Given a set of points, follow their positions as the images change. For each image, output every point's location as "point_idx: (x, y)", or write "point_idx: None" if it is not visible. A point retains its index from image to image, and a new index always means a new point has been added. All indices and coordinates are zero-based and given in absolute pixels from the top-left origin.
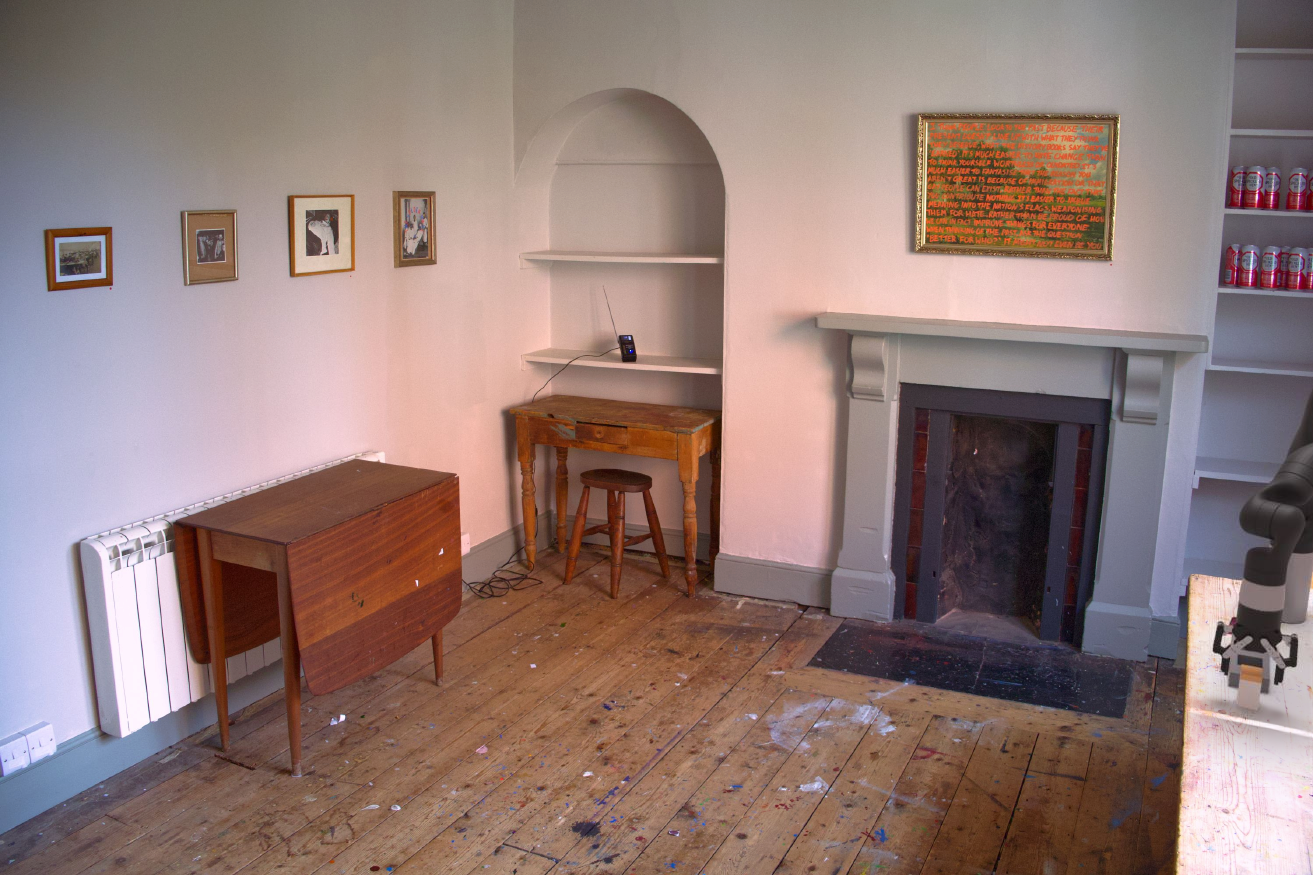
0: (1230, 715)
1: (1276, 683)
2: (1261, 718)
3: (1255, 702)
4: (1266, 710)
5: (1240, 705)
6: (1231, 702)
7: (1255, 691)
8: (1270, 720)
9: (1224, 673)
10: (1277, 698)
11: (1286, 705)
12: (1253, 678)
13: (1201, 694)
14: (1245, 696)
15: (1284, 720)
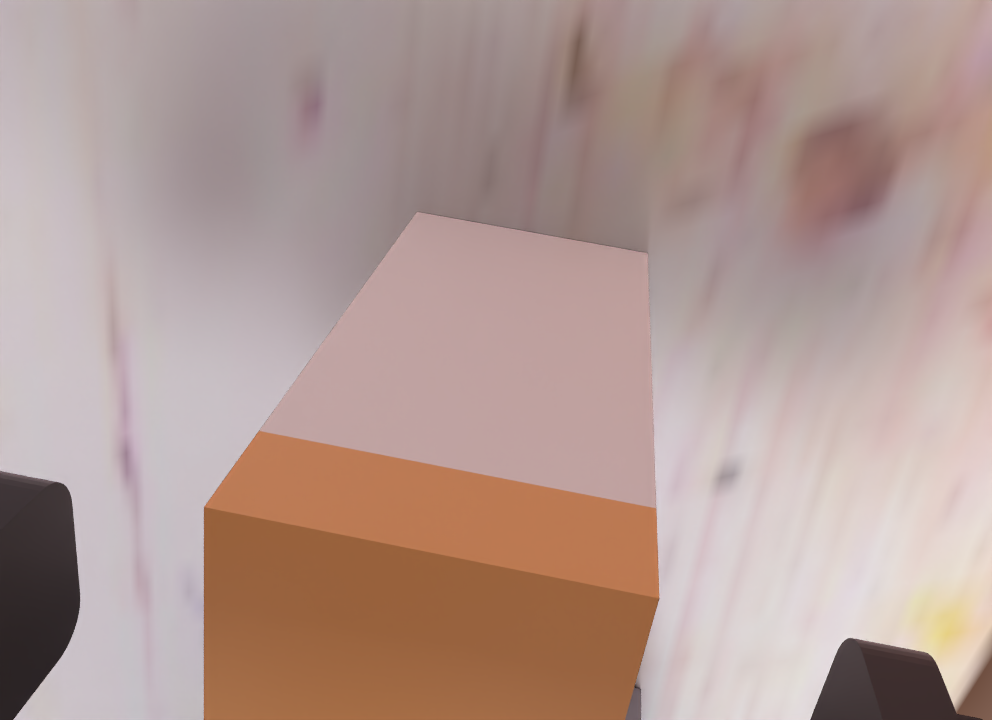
0: (751, 91)
1: (5, 482)
2: (376, 131)
3: (418, 276)
4: (309, 353)
5: (604, 276)
6: (659, 441)
7: (396, 351)
8: (279, 109)
9: (933, 666)
10: (201, 619)
11: (123, 507)
12: (397, 503)
13: (965, 547)
14: (548, 324)
15: (132, 162)
